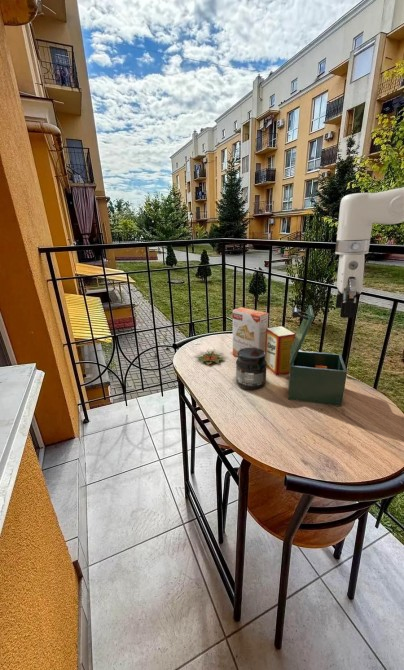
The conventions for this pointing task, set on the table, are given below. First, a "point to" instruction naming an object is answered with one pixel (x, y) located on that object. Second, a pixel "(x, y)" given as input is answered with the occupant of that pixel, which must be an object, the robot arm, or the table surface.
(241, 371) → the supplement container
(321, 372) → the bin
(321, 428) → the table surface
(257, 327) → the cracker box
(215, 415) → the table surface
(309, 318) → the bin lid
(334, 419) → the table surface
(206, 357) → the green red plant
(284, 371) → the baking soda box
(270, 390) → the table surface
